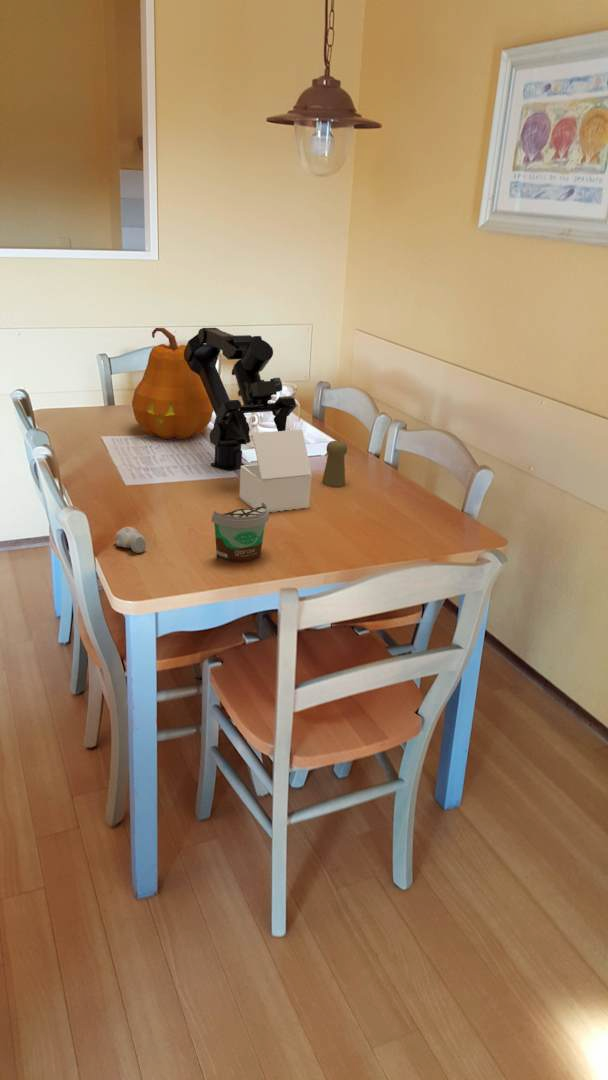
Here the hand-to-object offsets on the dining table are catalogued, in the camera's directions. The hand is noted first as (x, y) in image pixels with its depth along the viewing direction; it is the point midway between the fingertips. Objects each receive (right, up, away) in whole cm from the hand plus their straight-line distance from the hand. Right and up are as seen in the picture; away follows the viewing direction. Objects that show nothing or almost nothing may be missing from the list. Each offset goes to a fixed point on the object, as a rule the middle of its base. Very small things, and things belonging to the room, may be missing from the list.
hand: (266, 440), depth 193 cm
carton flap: (+4, -4, -8) cm, 10 cm away
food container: (-3, -27, -30) cm, 41 cm away
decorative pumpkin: (-30, +8, +47) cm, 56 cm away
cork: (+16, -9, +15) cm, 24 cm away
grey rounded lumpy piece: (-26, -25, -30) cm, 47 cm away
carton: (+2, -15, -1) cm, 15 cm away
